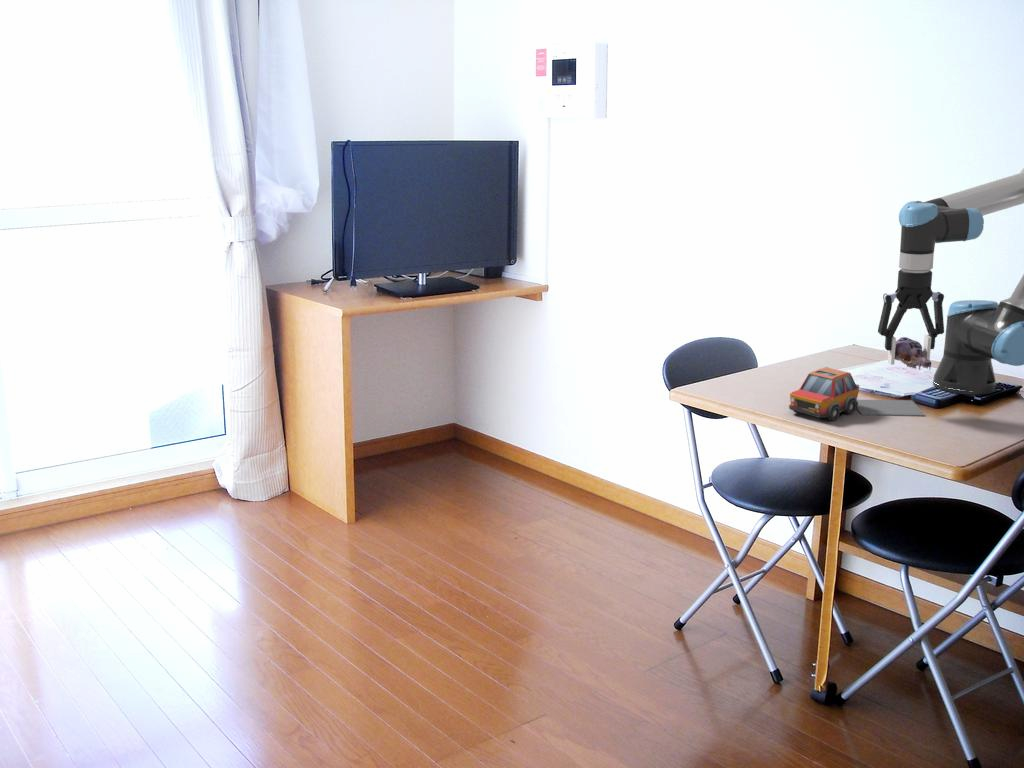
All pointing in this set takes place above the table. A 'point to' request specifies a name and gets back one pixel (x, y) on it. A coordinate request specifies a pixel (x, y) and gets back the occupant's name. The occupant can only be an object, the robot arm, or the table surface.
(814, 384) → the toy car
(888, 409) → the chock mat
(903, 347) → the skull
